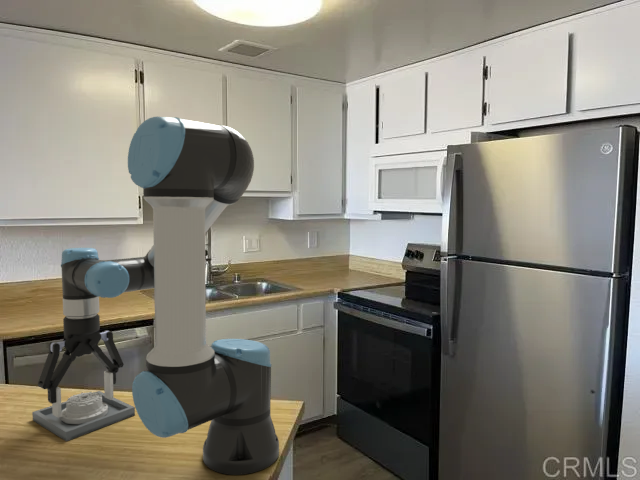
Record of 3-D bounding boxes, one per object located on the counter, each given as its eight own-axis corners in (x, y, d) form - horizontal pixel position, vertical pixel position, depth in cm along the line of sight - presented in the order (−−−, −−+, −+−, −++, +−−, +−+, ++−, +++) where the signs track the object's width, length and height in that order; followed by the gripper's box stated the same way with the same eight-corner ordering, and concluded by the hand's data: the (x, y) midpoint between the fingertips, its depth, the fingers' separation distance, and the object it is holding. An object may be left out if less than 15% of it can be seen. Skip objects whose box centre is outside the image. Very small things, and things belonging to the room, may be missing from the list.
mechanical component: (50, 423, 109) (89, 427, 107) (49, 404, 109) (89, 408, 107) (80, 405, 119) (116, 408, 117) (79, 387, 119) (116, 391, 117)
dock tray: (134, 415, 115) (134, 407, 115) (66, 441, 102) (65, 432, 102) (99, 398, 125) (99, 390, 124) (32, 420, 112) (32, 411, 112)
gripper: (120, 304, 123) (122, 387, 125) (17, 322, 104) (21, 420, 106) (137, 308, 119) (139, 394, 120) (33, 328, 100) (36, 430, 101)
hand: (84, 406), depth 113 cm, fingers open, 12 cm apart
